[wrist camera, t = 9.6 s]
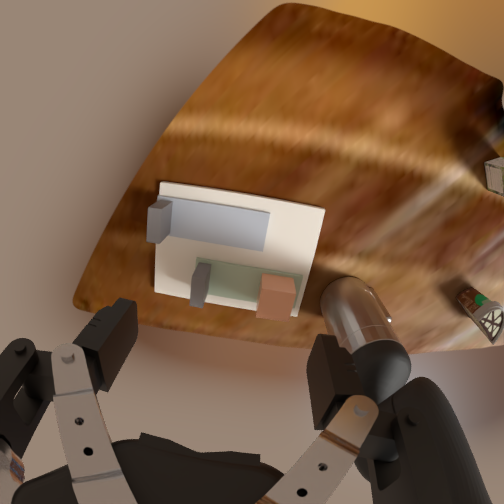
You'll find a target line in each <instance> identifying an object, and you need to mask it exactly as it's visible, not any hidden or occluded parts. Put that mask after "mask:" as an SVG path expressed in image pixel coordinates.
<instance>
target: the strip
mask: <svg viewBox="0 0 504 504" xmlns="http://www.w3.org/2000/svg"><path fill="white" fill-rule="evenodd" d="M269 217H270V213H269V212H263V211H257V210H252V209H246V208H240V207H234V206H228V205H221V204H215V203H209V202H202V201H196V200H189V199H182V198H175V197H168V196H161V195H159V196H158V197H157V202H156V203H154V204H153V205H151V206H149V207H148V219H147V241H146V242H151V243H156V244H160V243H161V242H162V241H163V240H164V239H165V238H166V237H167V236H173V237H179V238H185V239H191V240H196V241H202V242H208V243H214V244H220V245H226V246H232V247H238V248H244V249H249V250H255V251H261V252H263V248H264V243H265V238H266V233H267V228H268V223H269Z"/></svg>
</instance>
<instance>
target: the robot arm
mask: <svg viewBox="0 0 504 504" xmlns="http://www.w3.org/2000/svg"><path fill="white" fill-rule="evenodd" d="M320 307H321V311H322V314H323V318H324V322H325V325H326V328H327V332H328V335H327V334H318V335H317V337H316V340H315V343H314V345H313V348H312V351H311V353H310V356H309V359H308V362H307V379H308V385H309V392H310V399H311V407H312V414H313V422H314V429H315V430H324V431H322V432H321V434H320V435H319V436H318V437H317V438H316V440H315V441H314V442H313V443H312V444H311V446H310V447H309V448H308V449H307V450H306V452H305V453H304V454H303V455H302V456H301V457H300V459H299V460H298V461H297V462H296V463H295V464H294V465H293V467H291V469H290V470H289V471H288V472H287V473H286V474H285V475H284V474H283V473H282V472H280V471H279V470H277V469H276V468H274V467H272V466H270V465H267V464H265V463H261V462H260V454H249V453H240V452H233V451H227V452H207V453H206V452H205V453H200V452H196V451H193V450H191V449H189V448H186V447H184V446H182V445H180V444H178V443H175V442H173V441H171V440H168V439H164V438H161V437H157V436H153V435H149V434H146V433H141V435H140V438H139V439H127V440H121V441H116V442H113V443H112V440H111V438H110V435H109V433H108V430H107V427H106V424H105V422H104V419H103V416H102V413H101V410H100V406H99V403H98V400H97V397H96V394H97V392H98V391H99V389H100V390H102V391H105V392H108V391H109V389H110V387H111V386H112V384H113V382H114V380H115V378H116V376H117V374H118V373H119V371H120V369H121V367H122V365H123V363H124V362H125V360H126V358H127V356H128V354H129V353H130V351H131V349H132V347H133V345H134V344H135V342H136V339H137V335H138V319H137V304H136V302H135V301H132V300H128V299H124V298H119V299H118V300H117V301H116V302H115V303H114V305H113V306H112V307H110V306H106V307H104V308H103V309H101V310H99V311H98V312H97V313H96V314H95V316H94V317H93V319H91V321H90V322H89V323H88V325H86V326H85V328H84V329H83V330H82V331H81V333H80V334H79V335H78V337H77V338H76V339H75V340H74V341H73V343H72V344H62V345H60V346H58V347H57V348H55V349H54V350H53V352H48V351H39V350H36V348H35V345H34V343H33V342H32V341H31V340H29V339H26V338H19V339H16V340H14V341H12V342H11V343H10V344H9V345H8V346H7V347H6V348H5V350H4V351H3V352H2V353H1V355H0V504H325V503H326V502H327V500H328V499H329V497H330V496H331V495H332V493H333V492H334V491H335V489H336V488H337V486H338V485H339V484H340V482H341V480H342V479H343V478H344V476H345V475H346V473H347V472H348V470H349V468H350V467H351V466H352V464H353V462H354V463H355V465H356V467H357V469H358V470H359V472H360V473H361V474H362V476H363V477H364V478H365V479H366V480H368V481H369V482H370V483H371V490H372V498H373V504H492V502H491V500H490V498H489V495H488V493H487V490H486V488H485V485H484V483H483V480H482V477H481V475H480V472H479V469H478V467H477V464H476V461H475V459H474V456H473V454H472V452H471V449H470V447H469V444H468V442H467V439H466V437H465V435H464V432H463V430H462V428H461V426H460V423H459V421H458V419H457V417H456V415H455V413H454V411H453V409H452V407H451V405H450V403H449V401H448V400H447V398H446V397H445V395H444V394H443V392H442V391H441V390H440V388H439V387H438V386H437V385H436V384H435V383H434V382H433V381H431V380H430V379H428V378H425V377H418V378H415V379H413V380H412V381H410V382H408V383H407V384H406V382H407V380H408V378H409V375H410V372H411V361H410V358H409V356H408V354H407V352H406V350H405V348H404V347H403V345H402V343H401V342H400V340H399V338H398V336H397V335H396V333H395V331H394V330H393V328H392V326H391V325H390V322H391V319H392V318H391V316H390V314H389V313H388V311H387V309H386V308H385V306H384V305H383V303H382V302H381V300H380V298H379V297H378V295H377V294H376V292H375V291H374V289H373V288H369V287H368V286H367V285H366V284H365V283H364V282H363V281H362V280H360V279H358V278H355V277H344V278H340V279H337V280H335V281H334V282H332V283H331V284H329V285H328V286H327V287H326V289H325V290H324V291H323V293H322V296H321V299H320ZM405 384H406V385H405ZM21 386H22V388H21V389H20V387H21ZM19 389H20V391H19ZM18 391H19V392H18ZM17 392H18V394H17V395H16V393H17ZM15 395H16V397H15ZM14 397H15V399H14ZM51 401H53V402H54V407H55V412H56V418H57V423H58V428H59V432H60V437H61V440H62V445H63V449H64V453H65V456H66V460H67V463H68V464H67V465H65V466H62V467H60V468H58V469H56V470H54V471H51V472H49V473H46V474H44V475H42V476H39V477H37V478H34V479H31V480H29V481H26V482H25V483H23V481H24V479H25V476H24V471H25V470H24V464H23V462H22V460H21V459H22V457H23V455H24V452H25V450H26V448H27V446H28V444H29V442H30V440H31V438H32V436H33V434H34V432H35V430H36V428H37V426H38V424H39V422H40V420H41V418H42V416H43V414H44V413H45V411H46V409H47V407H48V405H49V404H50V402H51Z"/></svg>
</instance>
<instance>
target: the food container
mask: <svg viewBox="0 0 504 504" xmlns="http://www.w3.org/2000/svg"><path fill="white" fill-rule="evenodd" d="M456 299H457V300H458V301H459V303H460V304H461V305H462V307H463V308H464V310H465V311H466V313H467V314H468V315H469V317H470V318H471V319H472V320H473V322H474V323H475V324H476V325H477V326H478V327H479V328H480V330H481V331H482V332H483V333H484V334H485V336H486V337H487V338H488V339H489V341H490V342H491V343H492V344H494V343H495V342H496V341H497V340H498V338H499V337H500V335H501V333H502V331H503V329H504V310H503V308H502V306H501V305H500V303H498V302H496V301H491V300H489V299H488V298H487V297H485V296H484V295H483V294H481V293H480V292H479V291H477V290H476V289H474V288H469V289H466V290H464V291H462V292H461V293H460V294H458V295H457V296H456Z"/></svg>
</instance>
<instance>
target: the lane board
mask: <svg viewBox="0 0 504 504" xmlns="http://www.w3.org/2000/svg"><path fill="white" fill-rule="evenodd" d="M159 195H161V196H168V197H175V198H182V199H189V200H196V201H202V202H209V203H215V204H221V205H228V206H234V207H240V208H246V209H252V210H257V211H263V212H269V213H270V217H269V223H268V228H267V233H266V238H265V243H264V248H263V252H261V251H255V250H249V249H244V248H238V247H232V246H226V245H220V244H214V243H208V242H202V241H196V240H191V239H185V238H179V237H173V236H167V237H166V238H165V239H164V240H163V241H162V242H161V243H160V244H156V255H155V292H158V293H163V294H167V295H172V296H177V297H182V298H187V299H190V292H191V279H192V275H193V273H194V271H195V265H196V258H197V257H199V258H204V259H210V260H216V261H222V262H227V263H233V264H239V265H245V266H251V267H257V268H263V269H269V270H275V271H281V272H287V273H293V274H299V275H303V279H302V283H301V287H300V290H299V294H298V298H297V301H296V305H295V308H292V311H291V315H290V316H296V317H297V315H298V311H299V308H300V304H301V301H302V298H303V294H304V290H305V287H306V283H307V280H308V276H309V272H310V269H311V265H312V261H313V257H314V254H315V250H316V246H317V242H318V238H319V234H320V230H321V226H322V222H323V217H324V213H325V209H324V208H322V207H317V206H312V205H307V204H302V203H297V202H292V201H286V200H281V199H276V198H270V197H264V196H259V195H253V194H247V193H241V192H235V191H229V190H222V189H216V188H209V187H202V186H195V185H188V184H181V183H173V182H165V181H162V182H160V191H159ZM205 302H209V303H214V304H220V305H225V306H231V307H237V308H243V309H249V310H255V311H256V303H255V302H249V301H243V300H237V299H231V298H225V297H220V296H214V295H209V294H207V297H206V300H205Z"/></svg>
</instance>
